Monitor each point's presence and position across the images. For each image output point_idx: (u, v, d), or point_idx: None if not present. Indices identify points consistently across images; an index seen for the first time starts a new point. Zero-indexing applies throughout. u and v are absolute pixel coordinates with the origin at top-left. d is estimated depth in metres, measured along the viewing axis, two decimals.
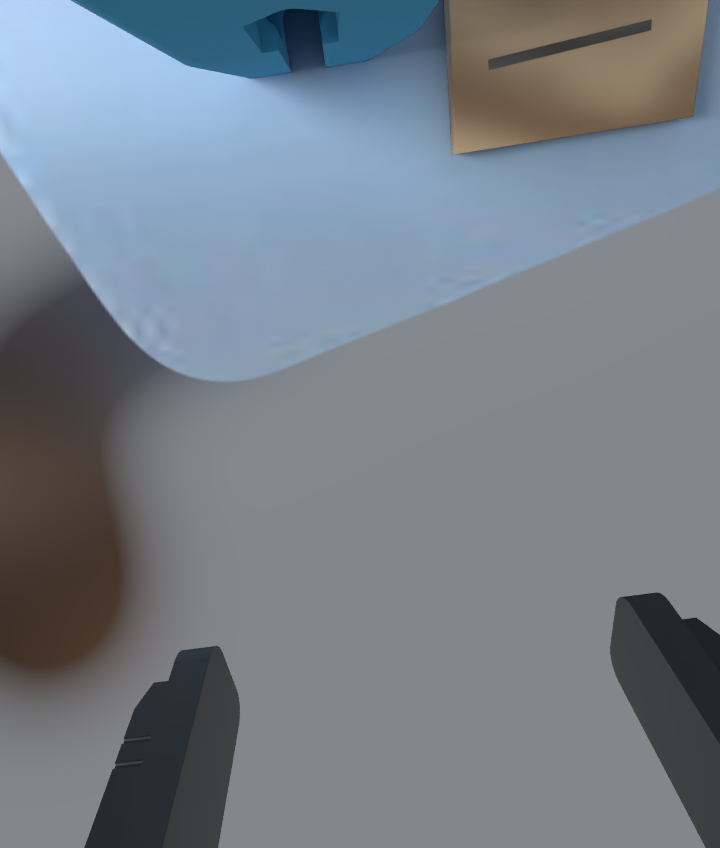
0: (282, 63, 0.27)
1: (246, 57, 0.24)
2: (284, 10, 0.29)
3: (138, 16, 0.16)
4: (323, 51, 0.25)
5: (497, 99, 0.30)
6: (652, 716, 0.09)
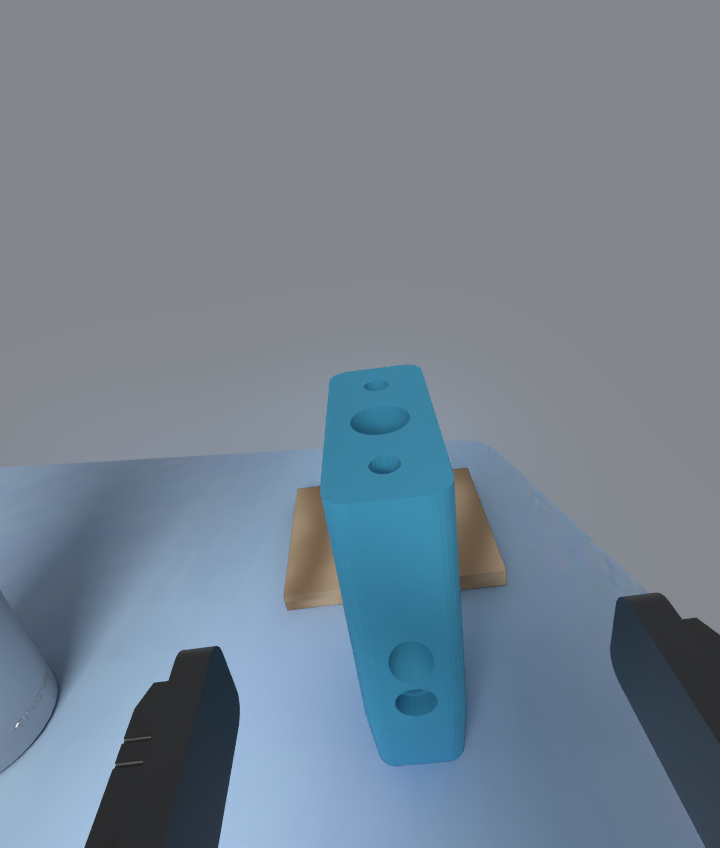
0: None
1: None
2: None
3: None
4: None
5: (466, 551, 0.42)
6: (652, 716, 0.09)
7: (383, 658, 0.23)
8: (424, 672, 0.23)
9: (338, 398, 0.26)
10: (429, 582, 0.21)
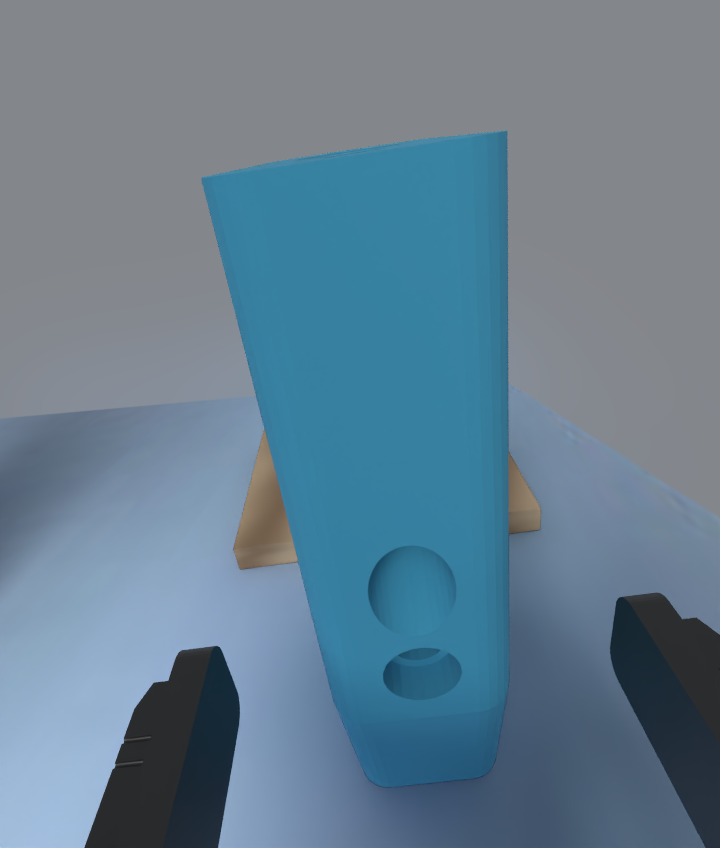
0: None
1: None
2: None
3: None
4: None
5: None
6: (652, 716, 0.09)
7: (358, 583, 0.12)
8: (437, 614, 0.12)
9: None
10: (448, 403, 0.10)
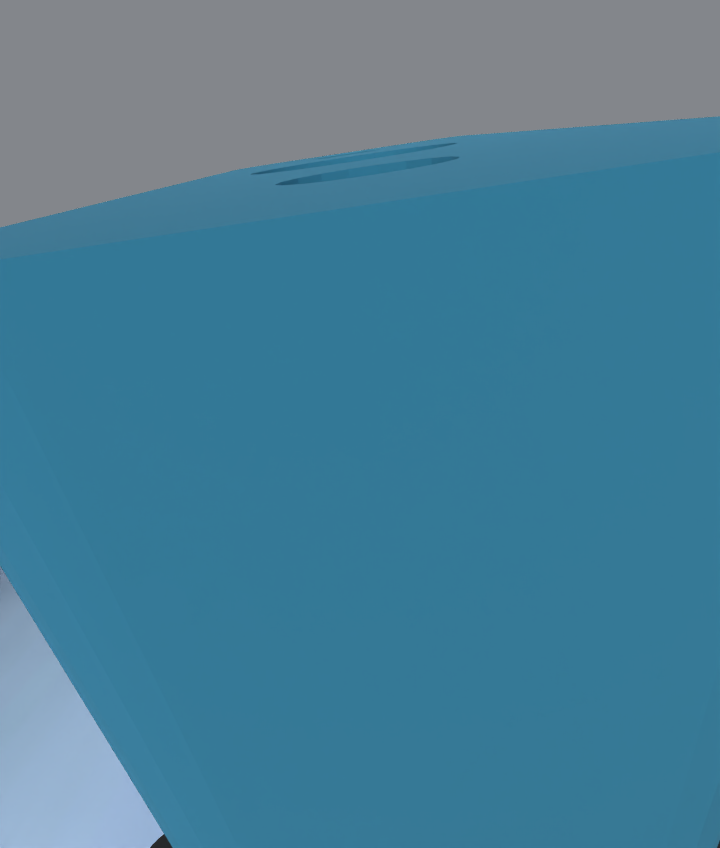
0: None
1: None
2: None
3: None
4: None
5: None
6: None
7: None
8: None
9: (242, 171, 0.09)
10: (624, 830, 0.04)
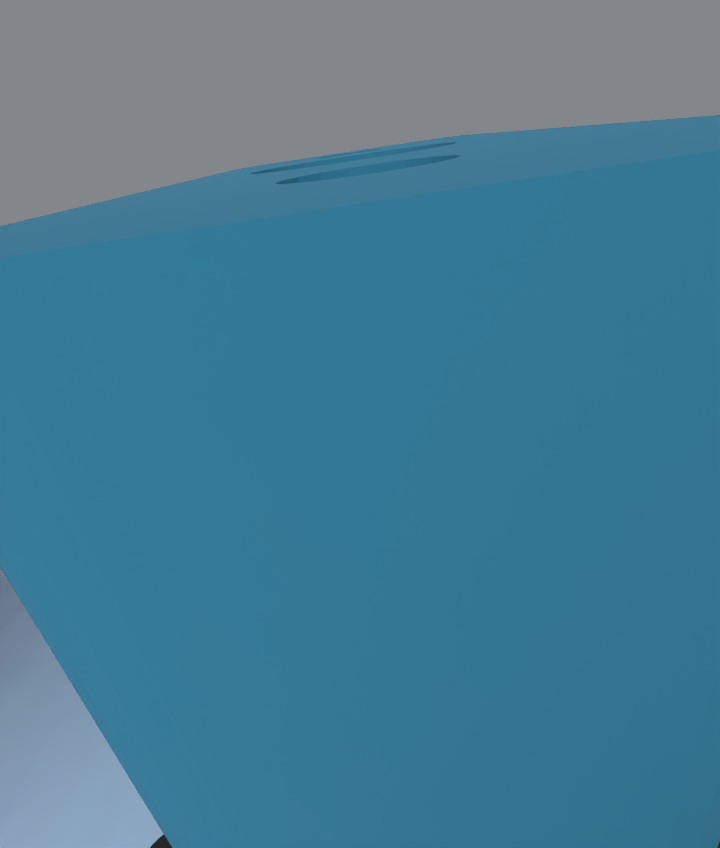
0: None
1: None
2: None
3: None
4: None
5: None
6: None
7: None
8: None
9: (242, 170, 0.09)
10: (624, 829, 0.04)
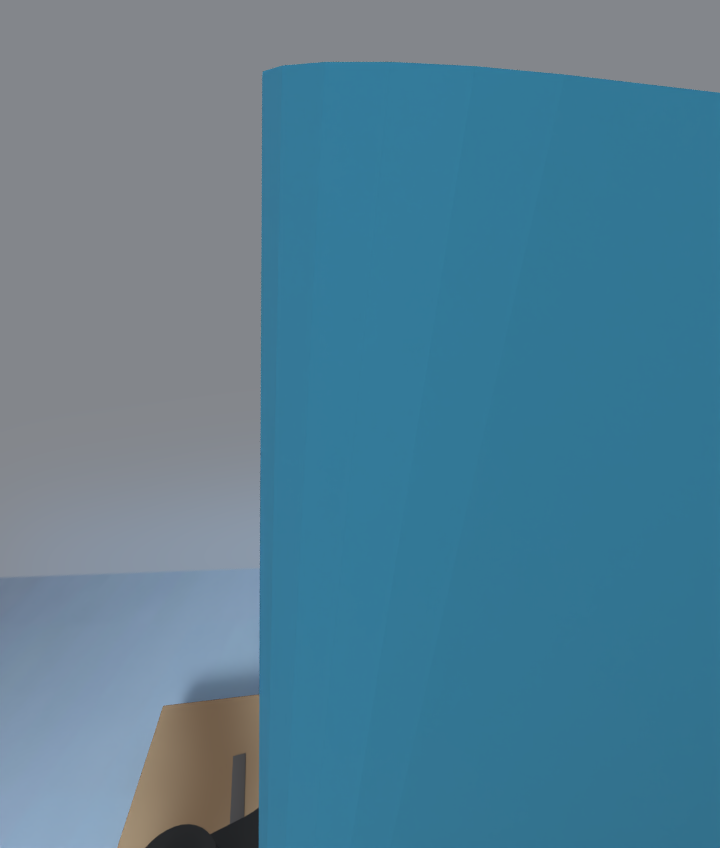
0: None
1: None
2: None
3: None
4: None
5: None
6: None
7: None
8: None
9: None
10: None
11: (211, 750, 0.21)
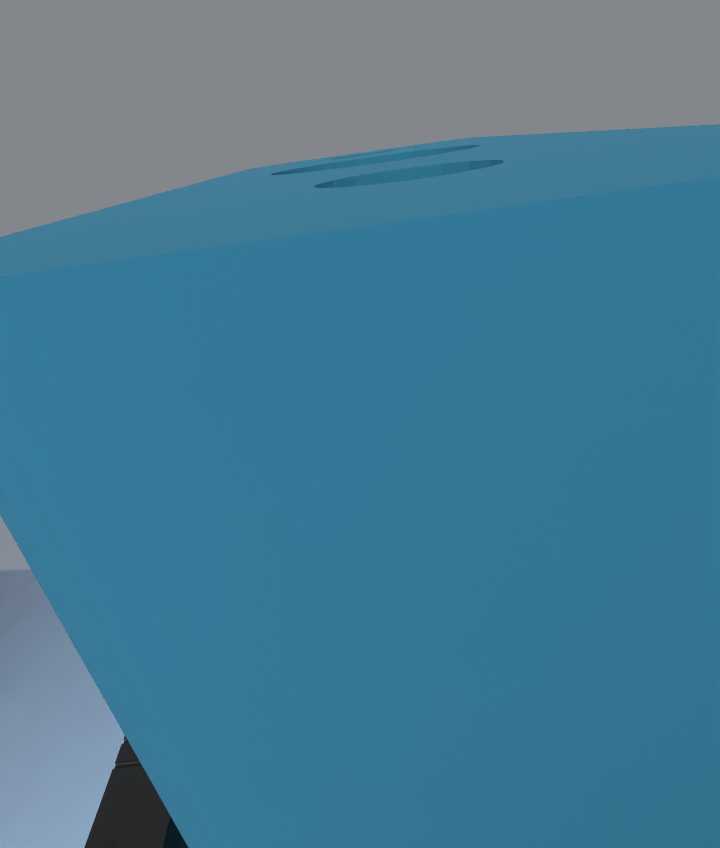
0: None
1: None
2: None
3: None
4: None
5: None
6: None
7: None
8: None
9: (256, 170, 0.09)
10: None
11: None
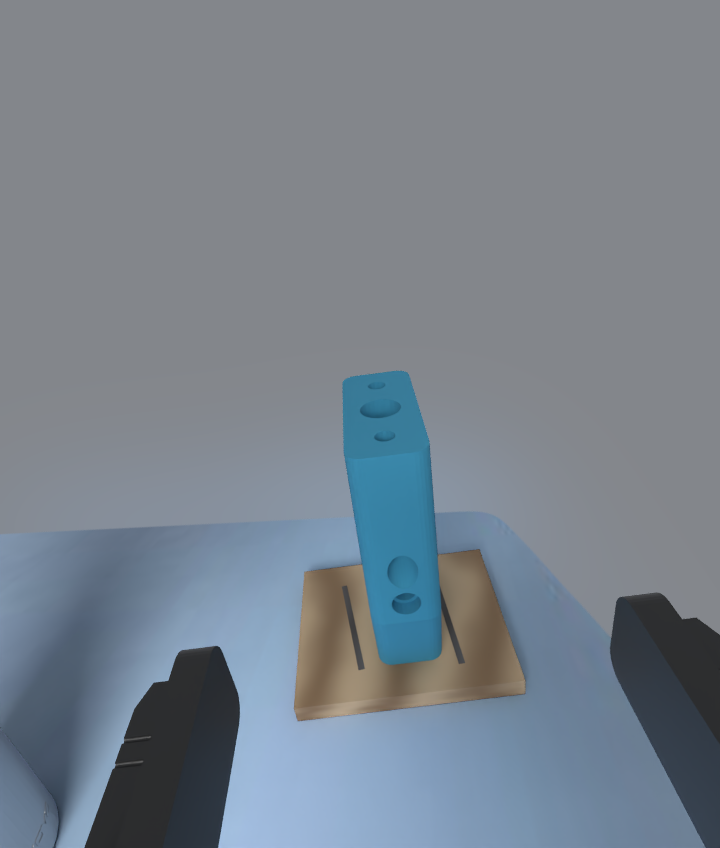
0: None
1: None
2: None
3: None
4: None
5: (483, 655, 0.40)
6: (652, 716, 0.09)
7: (384, 569, 0.34)
8: (411, 580, 0.34)
9: (350, 394, 0.37)
10: (414, 513, 0.32)
11: (331, 585, 0.49)
